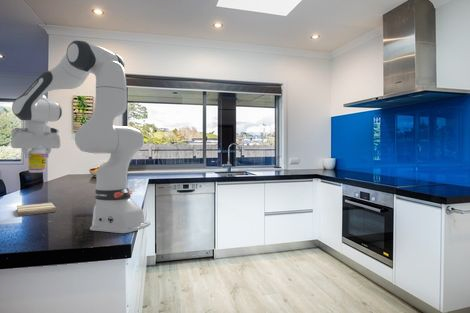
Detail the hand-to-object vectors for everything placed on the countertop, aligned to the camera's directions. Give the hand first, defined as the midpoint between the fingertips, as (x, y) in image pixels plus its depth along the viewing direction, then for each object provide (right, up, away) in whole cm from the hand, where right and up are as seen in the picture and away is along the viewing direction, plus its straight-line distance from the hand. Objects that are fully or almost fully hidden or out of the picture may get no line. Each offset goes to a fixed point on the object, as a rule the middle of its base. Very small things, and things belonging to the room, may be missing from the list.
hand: (37, 158), depth 132 cm
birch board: (-1, -25, 0) cm, 25 cm away
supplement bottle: (0, -7, 0) cm, 7 cm away
